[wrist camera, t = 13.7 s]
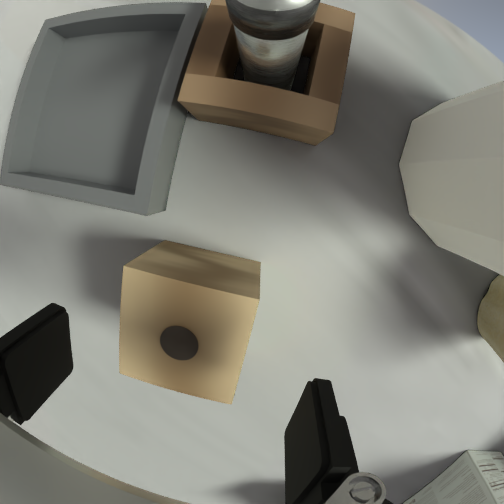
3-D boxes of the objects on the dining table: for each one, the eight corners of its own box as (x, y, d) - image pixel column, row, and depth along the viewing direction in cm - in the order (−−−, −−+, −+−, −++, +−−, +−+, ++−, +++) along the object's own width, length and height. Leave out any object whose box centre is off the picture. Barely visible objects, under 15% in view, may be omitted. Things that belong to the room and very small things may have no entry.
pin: (238, 97, 16) (208, 5, 6) (249, 54, 15) (235, -54, 5) (288, 107, 16) (317, 22, 6) (298, 64, 15) (330, -40, 5)
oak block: (154, 324, 19) (119, 373, 13) (165, 239, 18) (122, 266, 12) (239, 345, 19) (231, 405, 13) (260, 261, 18) (259, 300, 12)
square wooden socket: (198, 120, 16) (177, 100, 12) (227, 24, 14) (217, -14, 10) (315, 145, 16) (333, 133, 12) (336, 47, 14) (355, 13, 10)
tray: (25, 182, 17) (-1, 184, 14) (65, 33, 14) (45, 19, 11) (165, 210, 17) (146, 216, 14) (213, 26, 14) (205, 3, 11)
